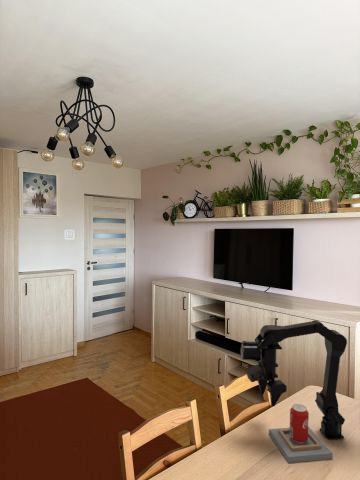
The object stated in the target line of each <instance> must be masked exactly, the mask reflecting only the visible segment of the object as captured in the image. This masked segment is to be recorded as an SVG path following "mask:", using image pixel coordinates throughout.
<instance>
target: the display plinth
mask: <svg viewBox="0 0 360 480" xmlns="http://www.w3.org/2000/svg"><path fill="white" fill-rule="evenodd" d="M289 434H290V427H278V428H269V429H268V435H269V436H270V438H271V439H272V441H273V442H274V444H275V446H276V447H277V448H278V450H279V452H280V453H281V454H282V456H283V457H284V458H285V460H286V462H287V463H288V464H291V463H301V462H303V463H304V462H312V461H313V462H314V461H323V460H333V452H332V451H331V449H329V448H328V446H327V445H326V444H325V443H324V442H323V441H322V440H321V439H320V437H319V436H318V435H317V434H316V433H315V431H313V430H312V429H311V428H310V426H308V440H307V441H306V442H305V443H303V444H298V443H295V442H294V441H293V440H292V439H291V438H290V436H289Z"/></svg>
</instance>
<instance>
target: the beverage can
mask: <svg viewBox="0 0 360 480" xmlns="http://www.w3.org/2000/svg"><path fill="white" fill-rule="evenodd" d="M309 415H310V414H309V411H308V409H307V407H306V406H305V405H304V404H301V403H294V404H293V405H291V408H290V409H289V428H290V434H289V436H290V438H291V439H292V440H293V441H294V442H295V443H298V444H303V443H305V442H306V441H307V440H308V427H309V419H310V417H309Z"/></svg>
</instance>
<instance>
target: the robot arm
mask: <svg viewBox="0 0 360 480" xmlns="http://www.w3.org/2000/svg"><path fill="white" fill-rule="evenodd" d="M259 330H260V331H259V333H258V335H257V336H256V338H254V341H247V340H242V341H241V345H240V346H241V347H240V358H241V360H243V361H257V360H258V361H257V364H255V365H254V364H253V365H252V366H251V367H248V368H246V369H245V374H246V376H247V379H248V380H249V381H250V383H255V382H257V383H258V388H259V391H260V395H264V394H265V392H266V391H267V392H268V393H269V397H270V405H271V407H275V406H276V405H277V403H278V401H279V399H280V397H281V396H282V395H283V394H285V393H287V391H288V386H287V385H286V384H285V383H284V382H283V381H282V380H281V379H278V378H279V375H278V373H277V368H279V364H278V362H277V350H283V347H282V346H281V345H280V344H279V343H281V342H283V341H285V340H287V339H289V338H290V339H291V338H296V337H301V336H308V335H313V334H318V335H320V336H322V337H323V338H324V346H325V352H326V359H325V367H324V374H323V383H322V390H321V391H320V392H319V391H316V394H315V400H314V401H315V403H316V406H317V408H318V409H319V411H320V412H321V413H322V414H323V416H322V418H321V419H322V420H320V428H319V431H320V432H321V433H322V435H324V437H325V438H326V439H327V440H328V441H329V440H340V439H345V436H344V435H343V434H342V432H343V431H342V428H343V425H344V424H345V421H346V419H345V418H344V416H342V414H341V413H340V411H339V402H338V398H337V387H338V386H337V385H338V379H339V371H340V362H341V357H342V356H343V355H344V353H345V351H346V348H347V344H348V339H347V338H346V337H345V335H343V334H342V333H340V332H338V331H337V330H336V329H329V328H328V327H327V326H325V325H324V324H323V323H322V322H321V321H320V320H317V319H315V320H312V321H307V322H300V323H295V324H287V325H276V324H265V325H263V326H262V327H261V329H259Z"/></svg>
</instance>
